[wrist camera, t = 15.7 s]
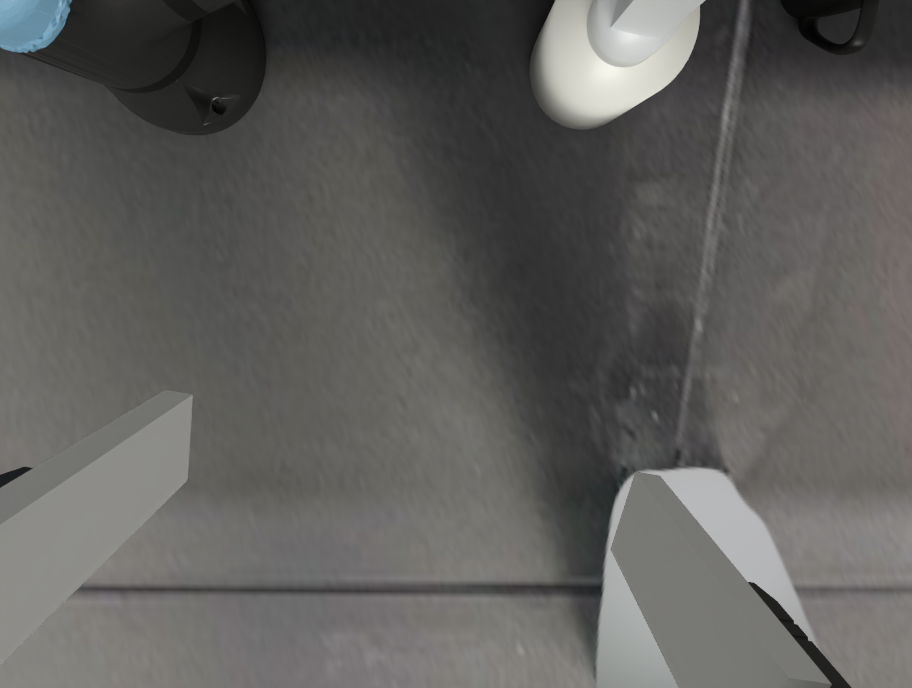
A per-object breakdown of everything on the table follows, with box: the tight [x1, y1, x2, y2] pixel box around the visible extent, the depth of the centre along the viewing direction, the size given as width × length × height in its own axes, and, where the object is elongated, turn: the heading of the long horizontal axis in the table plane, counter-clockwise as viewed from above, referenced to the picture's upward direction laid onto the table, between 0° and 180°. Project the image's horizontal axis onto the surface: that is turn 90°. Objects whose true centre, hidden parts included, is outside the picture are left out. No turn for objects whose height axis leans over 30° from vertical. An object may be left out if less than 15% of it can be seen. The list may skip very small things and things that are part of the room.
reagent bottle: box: [529, 0, 705, 130], centre depth 35 cm, size 11×11×22 cm
